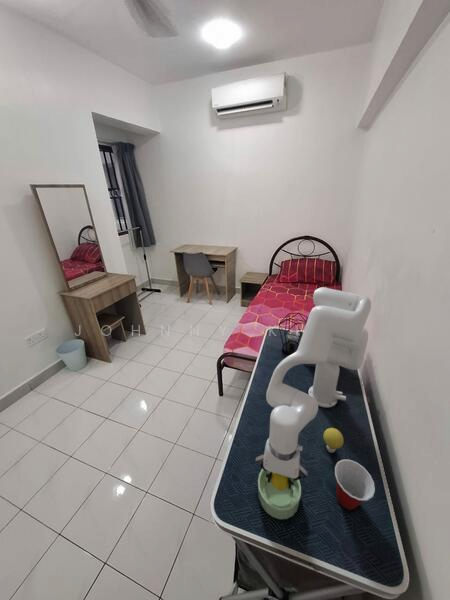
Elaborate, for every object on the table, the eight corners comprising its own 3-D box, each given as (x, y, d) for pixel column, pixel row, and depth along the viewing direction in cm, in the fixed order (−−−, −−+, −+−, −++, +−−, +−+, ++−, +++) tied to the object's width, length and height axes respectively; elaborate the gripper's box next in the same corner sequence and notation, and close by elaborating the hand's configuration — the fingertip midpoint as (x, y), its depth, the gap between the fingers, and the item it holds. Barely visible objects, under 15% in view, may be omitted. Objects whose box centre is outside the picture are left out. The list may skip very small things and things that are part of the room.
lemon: (268, 476, 78) (269, 462, 74) (285, 474, 78) (286, 460, 75) (273, 496, 73) (274, 482, 69) (290, 494, 73) (292, 480, 70)
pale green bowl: (300, 479, 81) (301, 468, 79) (298, 527, 70) (300, 517, 68) (261, 467, 85) (262, 457, 83) (254, 511, 74) (254, 501, 72)
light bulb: (331, 462, 86) (335, 445, 81) (317, 446, 91) (320, 429, 86) (344, 453, 88) (349, 435, 84) (329, 437, 94) (333, 420, 89)
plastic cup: (371, 524, 70) (381, 503, 65) (332, 516, 72) (338, 495, 67) (360, 483, 79) (368, 461, 74) (326, 476, 82) (331, 455, 76)
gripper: (315, 440, 67) (308, 476, 75) (255, 425, 72) (254, 460, 80) (315, 468, 61) (308, 504, 69) (249, 449, 66) (249, 485, 74)
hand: (279, 480), depth 74 cm, fingers closed on lemon, 5 cm apart
